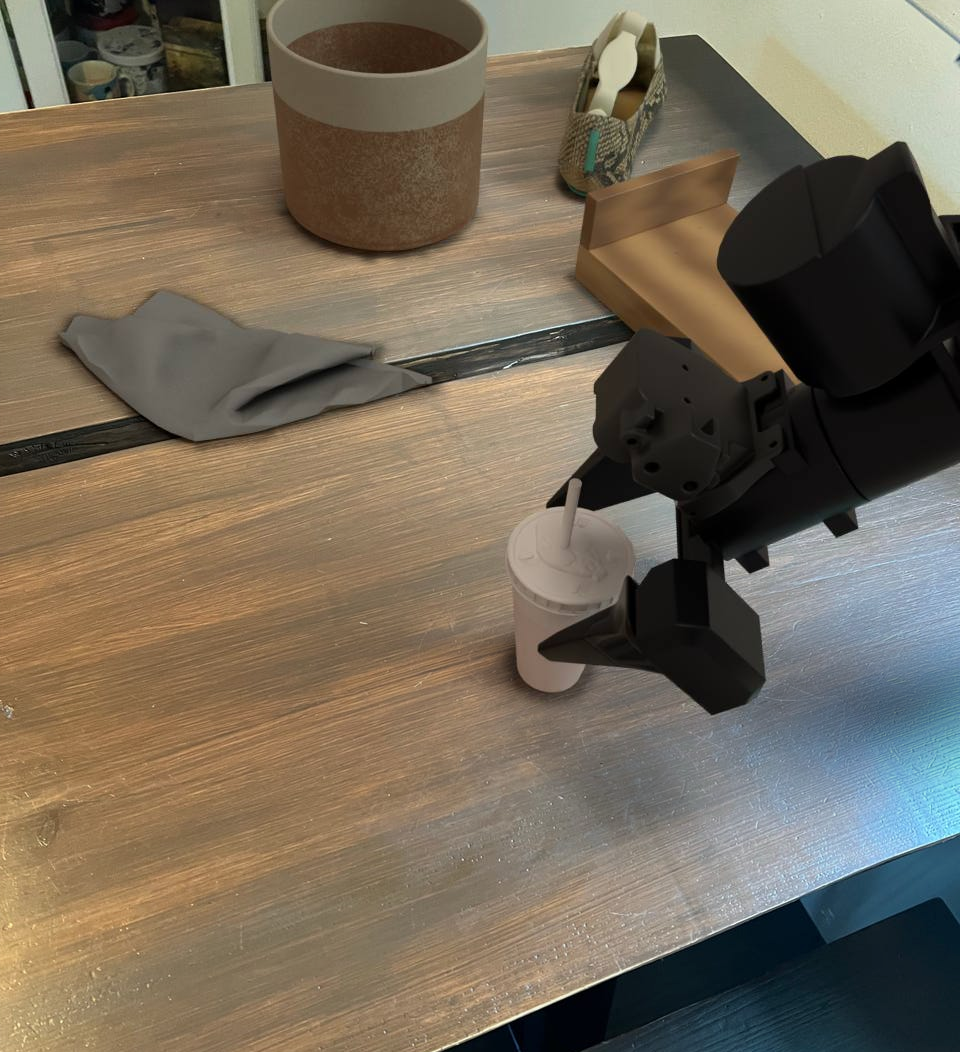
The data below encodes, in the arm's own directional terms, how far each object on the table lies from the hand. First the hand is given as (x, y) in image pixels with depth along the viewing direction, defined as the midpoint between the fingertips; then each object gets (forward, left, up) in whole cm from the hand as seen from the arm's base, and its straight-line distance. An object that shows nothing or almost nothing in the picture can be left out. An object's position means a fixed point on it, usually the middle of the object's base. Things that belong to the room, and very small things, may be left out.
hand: (546, 579), depth 50 cm
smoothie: (-1, +1, -8) cm, 8 cm away
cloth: (+4, -30, -8) cm, 32 cm away
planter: (-16, -44, -8) cm, 48 cm away
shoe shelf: (-31, -18, -7) cm, 37 cm away
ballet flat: (-40, -44, -8) cm, 60 cm away
